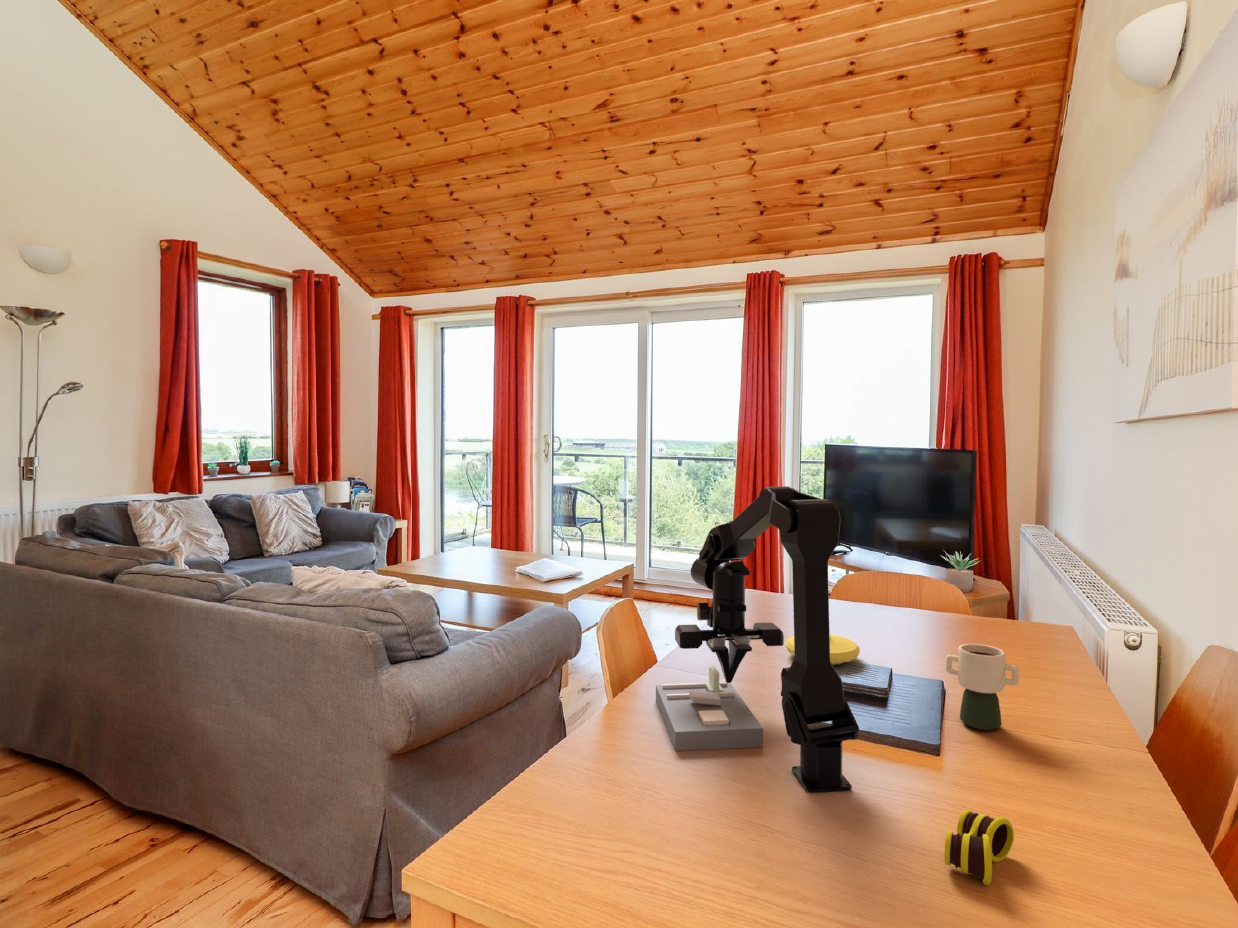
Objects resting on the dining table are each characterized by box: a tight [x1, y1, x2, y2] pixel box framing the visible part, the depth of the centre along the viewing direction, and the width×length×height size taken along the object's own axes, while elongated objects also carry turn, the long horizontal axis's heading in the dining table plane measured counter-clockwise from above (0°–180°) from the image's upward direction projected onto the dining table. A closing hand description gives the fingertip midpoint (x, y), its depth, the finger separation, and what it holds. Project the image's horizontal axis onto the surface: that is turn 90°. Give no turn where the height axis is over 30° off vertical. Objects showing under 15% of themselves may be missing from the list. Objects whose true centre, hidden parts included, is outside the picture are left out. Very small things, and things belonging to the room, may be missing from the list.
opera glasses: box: [944, 809, 1015, 886], centre depth 78 cm, size 10×5×5 cm, turn 137°
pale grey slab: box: [689, 690, 721, 705], centre depth 117 cm, size 3×5×1 cm
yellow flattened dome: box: [784, 634, 861, 666], centre depth 149 cm, size 16×16×7 cm
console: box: [655, 681, 764, 752], centre depth 116 cm, size 20×14×4 cm
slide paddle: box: [704, 665, 723, 692], centre depth 122 cm, size 4×2×4 cm, turn 6°
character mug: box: [945, 643, 1020, 730], centre depth 115 cm, size 11×7×13 cm, turn 54°
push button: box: [699, 710, 729, 726], centre depth 110 cm, size 4×4×3 cm
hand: (728, 682), depth 123 cm, fingers closed
